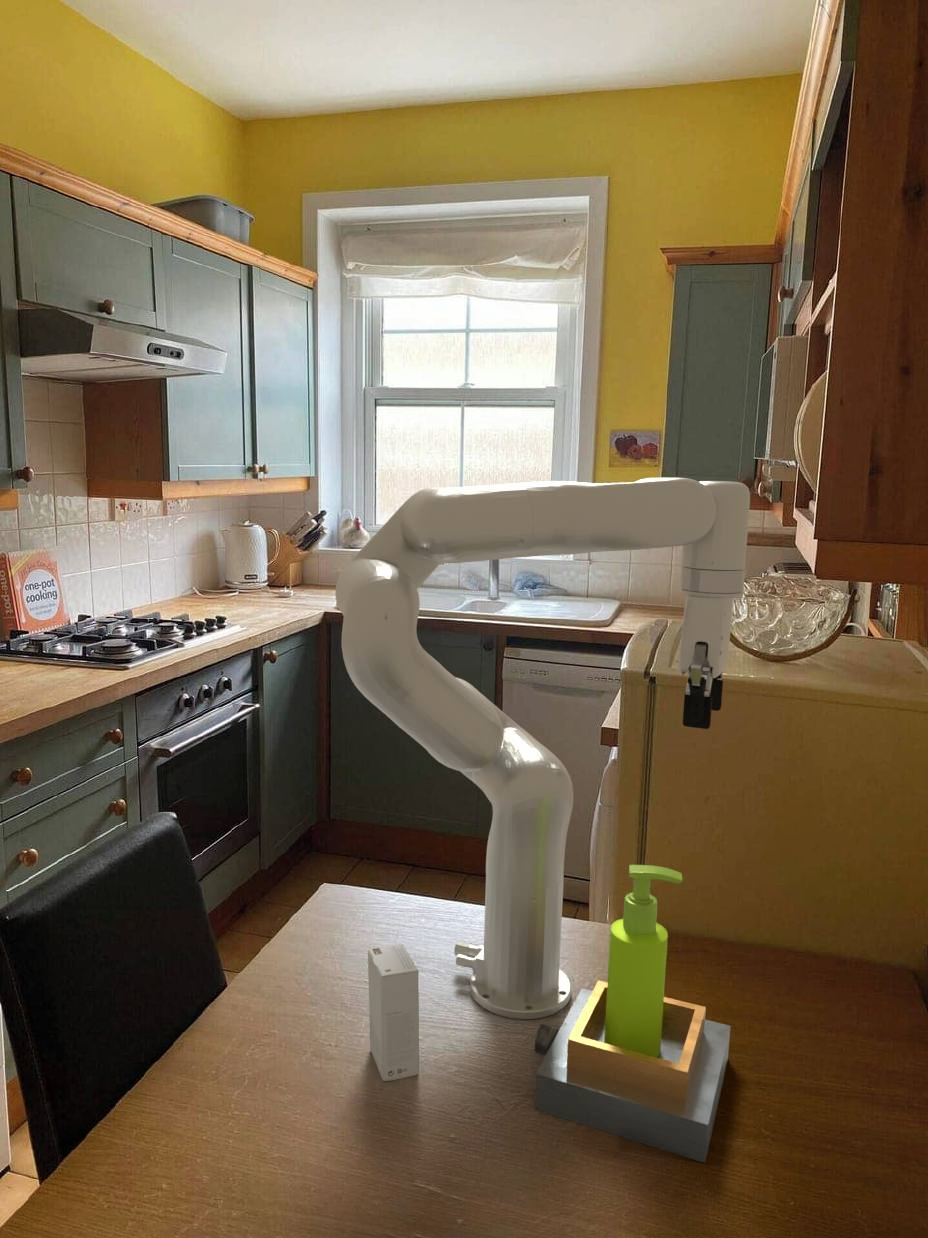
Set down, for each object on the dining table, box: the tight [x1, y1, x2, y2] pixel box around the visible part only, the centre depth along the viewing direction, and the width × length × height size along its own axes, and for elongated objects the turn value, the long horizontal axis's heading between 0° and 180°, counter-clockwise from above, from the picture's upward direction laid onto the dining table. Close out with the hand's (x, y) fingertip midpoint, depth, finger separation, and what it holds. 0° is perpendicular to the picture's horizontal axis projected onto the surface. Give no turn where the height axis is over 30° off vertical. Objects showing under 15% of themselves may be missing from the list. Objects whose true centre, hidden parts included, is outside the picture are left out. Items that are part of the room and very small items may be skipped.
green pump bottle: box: [604, 864, 683, 1057], centre depth 93 cm, size 6×7×20 cm
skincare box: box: [367, 943, 420, 1082], centre depth 96 cm, size 6×4×12 cm
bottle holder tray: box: [533, 980, 731, 1164], centre depth 95 cm, size 19×17×7 cm
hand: (702, 717), depth 112 cm, fingers open, 9 cm apart
